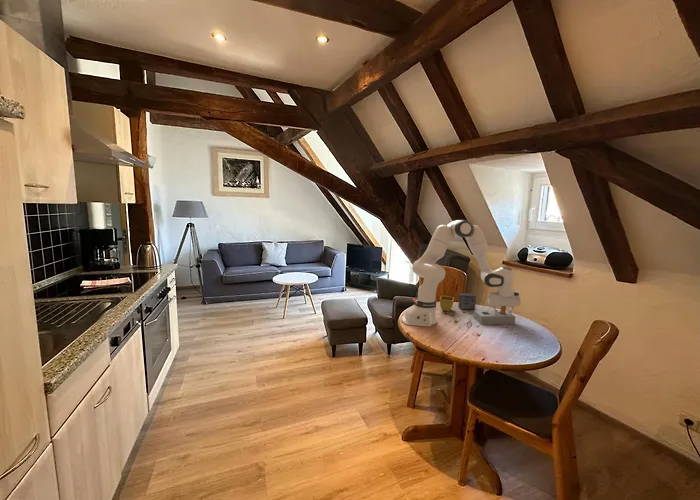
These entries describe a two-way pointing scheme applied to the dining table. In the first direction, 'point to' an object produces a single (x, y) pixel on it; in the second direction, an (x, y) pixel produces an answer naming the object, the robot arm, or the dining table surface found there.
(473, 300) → the small box
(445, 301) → the flower pot
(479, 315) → the hole block
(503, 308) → the peg
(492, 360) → the dining table surface
